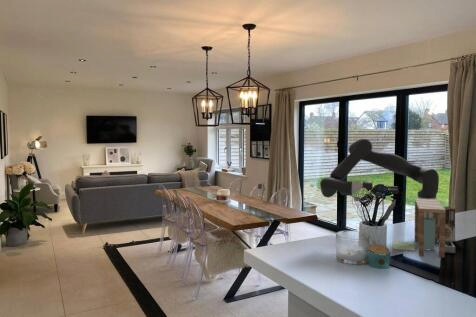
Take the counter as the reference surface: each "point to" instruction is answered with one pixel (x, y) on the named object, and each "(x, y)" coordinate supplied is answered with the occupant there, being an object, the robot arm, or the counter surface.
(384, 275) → the counter surface
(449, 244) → the pit box
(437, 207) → the small wooden table
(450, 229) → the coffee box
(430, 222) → the teal block
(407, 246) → the mat
